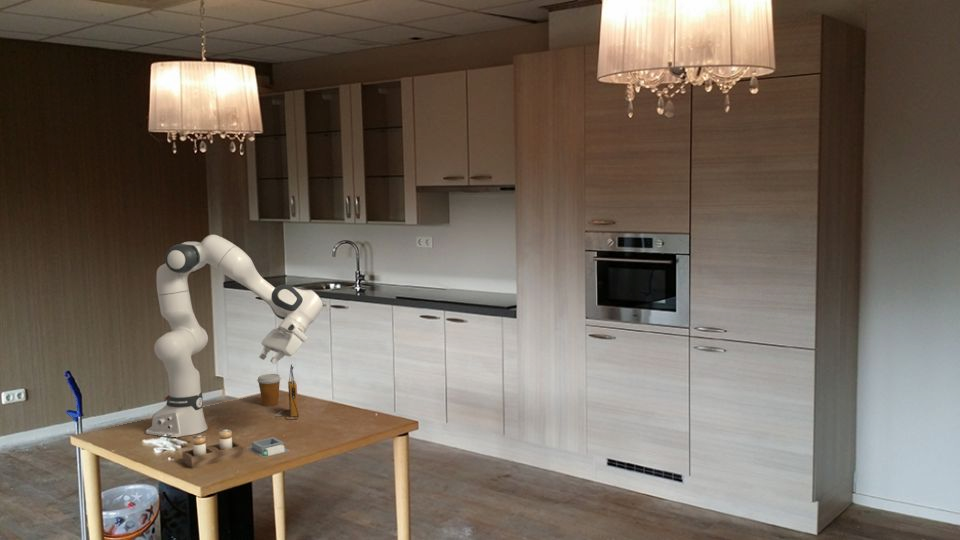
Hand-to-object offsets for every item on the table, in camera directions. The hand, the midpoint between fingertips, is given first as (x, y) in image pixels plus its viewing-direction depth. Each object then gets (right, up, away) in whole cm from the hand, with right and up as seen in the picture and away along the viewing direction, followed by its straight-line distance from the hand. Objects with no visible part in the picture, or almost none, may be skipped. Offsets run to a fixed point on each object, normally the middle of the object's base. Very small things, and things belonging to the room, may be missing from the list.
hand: (266, 360), depth 301 cm
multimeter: (-2, -26, +34) cm, 43 cm away
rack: (-13, -32, -19) cm, 39 cm away
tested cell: (-9, -30, -16) cm, 36 cm away
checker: (+3, -30, -10) cm, 32 cm away
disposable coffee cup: (-12, -24, +53) cm, 59 cm away
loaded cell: (-16, -31, -22) cm, 42 cm away
